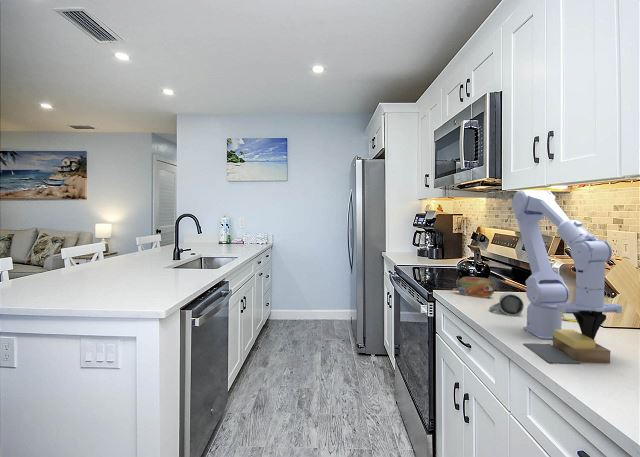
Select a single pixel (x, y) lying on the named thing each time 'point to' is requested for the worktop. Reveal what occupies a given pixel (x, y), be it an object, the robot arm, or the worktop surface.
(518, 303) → the ceramic mug
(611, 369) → the worktop surface
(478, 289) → the tin
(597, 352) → the block
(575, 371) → the worktop surface
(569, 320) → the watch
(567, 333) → the yellow sponge
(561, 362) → the mat
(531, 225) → the robot arm
